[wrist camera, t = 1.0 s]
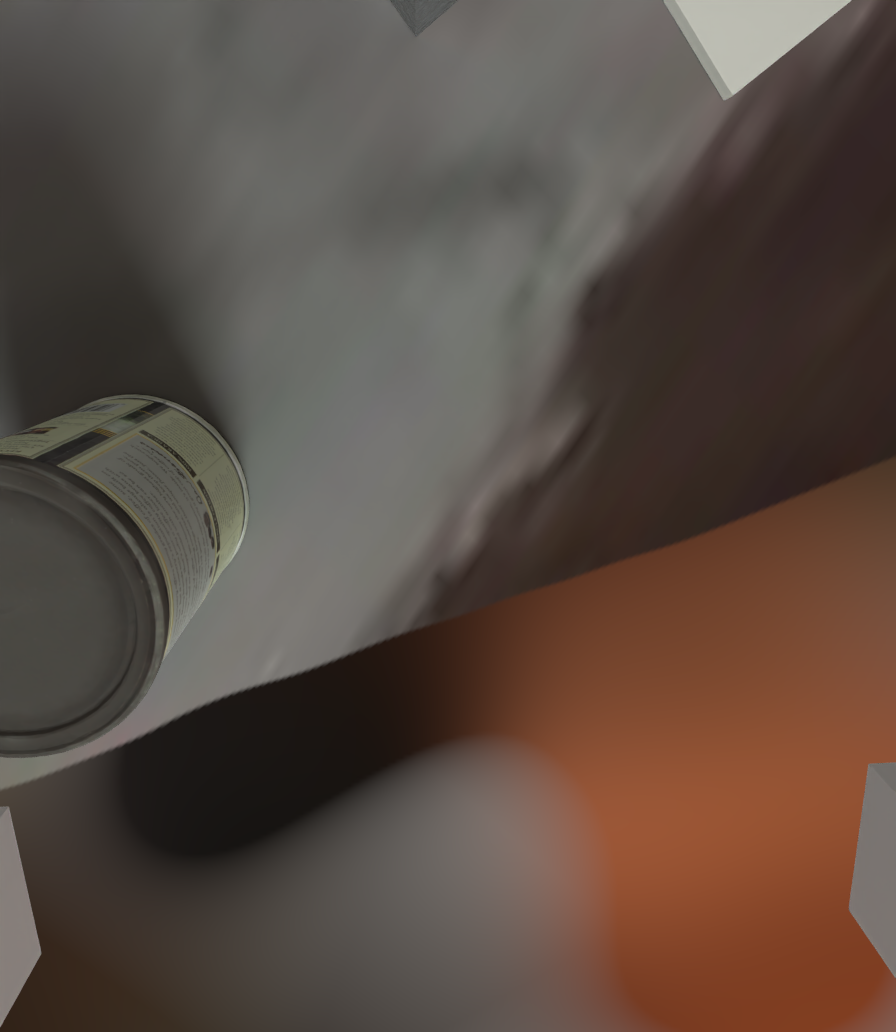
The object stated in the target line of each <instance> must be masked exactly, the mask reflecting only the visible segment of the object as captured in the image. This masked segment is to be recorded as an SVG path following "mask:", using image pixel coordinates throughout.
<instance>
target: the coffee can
mask: <svg viewBox="0 0 896 1032" xmlns="http://www.w3.org/2000/svg"><path fill="white" fill-rule="evenodd" d="M249 507H250V506H249V496H248V490H247V484H246V480H245V476H244V473H243V471H242V468H241V466H240V463H239V461H238V459H237V458H236V456H235V454H234V452H233V451H232V449H231V448H230V446H229V445H228V443H227V442H226V441H225V440H224V439H223V437H222V436H221V435H220V434H219V433H218V431H217V430H216V429H215V428H214V427H213V426H212V425H210V424H209V423H207V422H206V421H205V420H204V419H202V418H201V417H200V416H198V415H197V414H195V413H194V412H192V411H190V410H189V409H187V408H185V407H183V406H181V405H179V404H176V403H174V402H171V401H168V400H165V399H162V398H158V397H153V396H148V395H139V394H132V395H117V396H111V397H106V398H102V399H99V400H96V401H93V402H91V403H89V404H86V405H84V406H82V407H81V408H79V409H77V410H75V411H72V412H69V413H66V414H64V415H62V416H59V417H56V418H53V419H51V420H49V421H46V422H43V423H41V424H38V425H36V426H33V427H31V428H28V429H26V430H23V431H20V432H18V433H15V434H12V435H10V436H7V437H4V438H2V439H0V757H6V758H28V757H39V756H47V755H52V754H57V753H62V752H66V751H69V750H72V749H75V748H78V747H81V746H83V745H86V744H88V743H90V742H92V741H94V740H96V739H98V738H100V737H101V736H103V735H104V734H106V733H107V732H109V731H110V730H112V729H113V728H114V727H116V726H117V725H118V724H120V723H121V722H122V721H123V720H124V719H125V718H126V717H127V716H128V715H129V714H130V713H131V712H132V711H133V710H134V709H135V708H136V707H137V705H138V704H139V703H140V702H141V700H142V699H143V698H144V696H145V695H146V694H147V692H148V690H149V689H150V687H151V685H152V683H153V681H154V679H155V677H156V675H157V673H158V671H159V668H160V665H161V663H162V662H163V660H164V659H165V657H166V656H167V654H168V653H169V651H170V650H171V648H172V647H173V645H174V644H175V642H176V641H177V639H178V637H179V636H180V634H181V633H182V631H183V630H184V628H185V627H186V626H187V624H188V623H189V621H190V620H191V618H192V616H193V615H194V613H195V612H196V610H197V609H198V608H199V606H200V605H201V603H202V602H203V600H204V598H205V597H206V595H207V594H208V592H209V591H210V589H211V588H212V586H213V585H214V583H215V582H216V580H217V578H218V577H219V575H220V574H221V572H222V571H223V570H224V569H225V568H226V567H227V565H228V564H229V563H230V562H231V560H232V559H233V557H234V556H235V554H236V553H237V551H238V549H239V547H240V545H241V543H242V540H243V538H244V535H245V531H246V528H247V523H248V516H249Z"/></svg>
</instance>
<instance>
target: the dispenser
mask: <svg viewBox="0 0 896 1032" xmlns="http://www.w3.org/2000/svg"><path fill="white" fill-rule="evenodd" d="M456 1H457V0H391V2H392V3H393V5H394V6H395V7H396V9H397V10H398V12H399V13H400V15H401V16H402V17H403V19H404V20H405V22H406V23H407V25H408V26H409V28H410V29H411V30H412V32H413V33H414V35H415V36H417V35H418V34H419V33H421V32H422V31H423V30H424V29H425V28H426V27H427V26H429V25H430V24H431V23H432V22H433V21H434V20H435V19H436V18H438V17H439V16H440V15H441V14H442V13H443V12H444V11H446V10H447V9H448V8H449V7H450V6H451V5H452V4H454V3H455V2H456Z"/></svg>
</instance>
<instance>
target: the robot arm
mask: <svg viewBox="0 0 896 1032" xmlns="http://www.w3.org/2000/svg"><path fill="white" fill-rule="evenodd" d="M849 911H850V912H851V914H852V915H853V916H854V918H855V919H856V921H857V922H858V924H859V925H860V927H861V928H862V930H863V931H864V933H865V934H866V935H867V937H868V938H869V940H870V941H871V943H872V944H873V946H874V947H875V948H876V950H877V952H878V953H879V955H880V956H881V957H882V959H883V960H884V962H885V963H886V965H887V966H888V968H889V969H890V971H891V972H892V973H893V975H894V977H895V978H896V763H877V764H869V765H868V773H867V780H866V788H865V794H864V801H863V809H862V816H861V823H860V831H859V838H858V845H857V852H856V860H855V867H854V875H853V882H852V889H851V896H850V903H849ZM40 955H41V950H40V945H39V941H38V936H37V932H36V927H35V923H34V918H33V914H32V909H31V905H30V900H29V896H28V892H27V887H26V882H25V878H24V873H23V869H22V864H21V860H20V856H19V851H18V846H17V842H16V837H15V833H14V828H13V824H12V820H11V815H10V811H9V807H0V1026H1V1025H2V1023H3V1021H4V1019H5V1017H6V1016H7V1014H8V1012H9V1010H10V1009H11V1007H12V1005H13V1003H14V1001H15V1000H16V998H17V996H18V994H19V992H20V991H21V989H22V987H23V985H24V983H25V982H26V980H27V978H28V976H29V975H30V973H31V971H32V969H33V967H34V966H35V964H36V962H37V960H38V958H39V957H40Z"/></svg>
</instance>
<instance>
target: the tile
mask: <svg viewBox="0 0 896 1032" xmlns="http://www.w3.org/2000/svg"><path fill="white" fill-rule="evenodd" d="M663 1H664V3H665V4H666V6H667V8H668V9H669V11H670V13H671V14H672V16H673V18H674V19H675V21H676V23H677V24H678V26H679V28H680V29H681V31H682V33H683V34H684V36H685V37H686V39H687V41H688V42H689V44H690V46H691V47H692V49H693V51H694V52H695V54H696V56H697V57H698V59H699V61H700V62H701V64H702V66H703V67H704V69H705V70H706V72H707V74H708V75H709V77H710V79H711V80H712V82H713V84H714V85H715V87H716V89H717V90H718V92H719V94H720V95H721V97H722V99H723V100H724V101H725V100H726V99H728V98H730V97H731V96H733V95H734V94H735V93H737V92H738V91H739V90H740V89H742V88H743V87H744V86H745V85H747V84H748V83H749V82H750V81H752V80H753V79H754V78H755V77H757V76H758V75H759V74H760V73H762V72H763V71H764V70H765V69H767V68H768V67H769V66H770V65H772V64H773V63H774V62H775V61H777V60H778V59H779V58H780V57H782V56H783V55H784V54H785V53H786V52H788V51H789V50H790V49H791V48H793V47H794V46H795V45H796V44H798V43H799V42H800V41H801V40H803V39H804V38H805V37H806V36H808V35H809V34H810V33H811V32H813V31H814V30H815V29H816V28H818V27H819V26H820V25H821V24H823V23H824V22H825V21H826V20H828V19H829V18H830V17H831V16H833V15H834V14H835V13H836V12H837V11H839V10H840V9H841V8H842V7H844V6H845V5H846V4H847V3H849V2H850V1H851V0H663Z"/></svg>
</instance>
